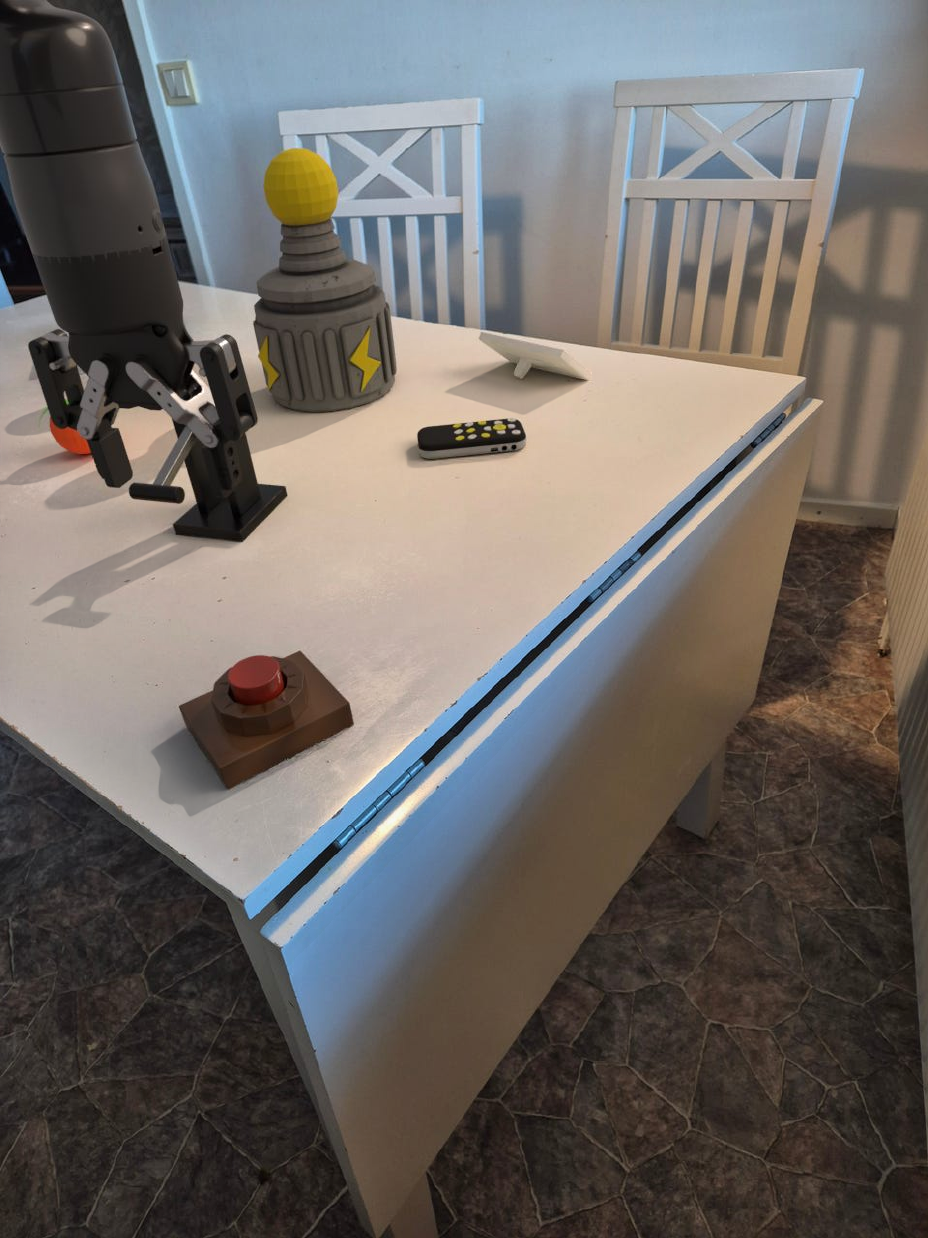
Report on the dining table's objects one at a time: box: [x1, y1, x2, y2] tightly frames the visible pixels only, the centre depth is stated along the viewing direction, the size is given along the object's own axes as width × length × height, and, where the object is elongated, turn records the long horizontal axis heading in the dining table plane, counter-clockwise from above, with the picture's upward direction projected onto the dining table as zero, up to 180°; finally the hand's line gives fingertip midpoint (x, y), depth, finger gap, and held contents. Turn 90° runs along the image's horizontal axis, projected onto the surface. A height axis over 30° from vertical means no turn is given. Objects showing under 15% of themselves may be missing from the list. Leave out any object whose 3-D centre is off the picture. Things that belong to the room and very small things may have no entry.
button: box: [228, 654, 284, 706], centre depth 58 cm, size 4×4×2 cm
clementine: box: [38, 398, 91, 455], centre depth 101 cm, size 8×7×7 cm
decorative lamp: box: [252, 147, 398, 413], centre depth 107 cm, size 19×19×30 cm
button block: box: [178, 650, 355, 790], centre depth 59 cm, size 10×8×4 cm
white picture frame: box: [478, 331, 593, 381], centre depth 112 cm, size 8×5×14 cm
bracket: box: [171, 389, 288, 543], centre depth 83 cm, size 10×8×14 cm
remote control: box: [416, 417, 527, 460], centre depth 97 cm, size 6×13×2 cm, turn 95°
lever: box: [128, 397, 207, 505], centre depth 78 cm, size 13×5×2 cm, turn 163°
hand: (173, 487), depth 57 cm, fingers open, 8 cm apart
